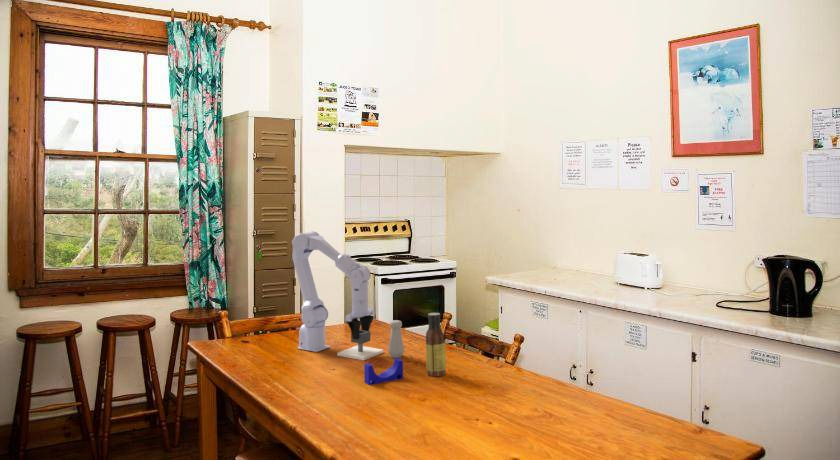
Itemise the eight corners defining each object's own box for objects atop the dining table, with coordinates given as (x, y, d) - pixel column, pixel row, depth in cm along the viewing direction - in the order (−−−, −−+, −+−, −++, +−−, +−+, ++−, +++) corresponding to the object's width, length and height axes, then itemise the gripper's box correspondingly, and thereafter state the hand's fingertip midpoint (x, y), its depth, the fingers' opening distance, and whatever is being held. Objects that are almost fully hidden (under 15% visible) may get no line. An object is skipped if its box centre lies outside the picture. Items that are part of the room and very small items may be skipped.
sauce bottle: (448, 372, 187) (448, 312, 186) (442, 378, 181) (442, 316, 180) (429, 370, 189) (429, 311, 188) (423, 376, 183) (422, 315, 182)
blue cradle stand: (396, 375, 185) (396, 357, 184) (402, 379, 181) (402, 360, 180) (362, 381, 179) (362, 362, 178) (368, 385, 175) (368, 366, 174)
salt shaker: (405, 354, 207) (405, 319, 207) (403, 359, 202) (403, 322, 201) (389, 354, 208) (389, 318, 207) (386, 358, 202) (386, 322, 201)
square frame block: (351, 342, 207) (351, 332, 207) (359, 339, 211) (359, 329, 211) (362, 343, 204) (362, 334, 204) (370, 340, 209) (370, 331, 208)
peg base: (337, 355, 206) (337, 339, 206) (357, 347, 216) (357, 332, 216) (363, 360, 200) (363, 343, 200) (383, 352, 210) (383, 336, 210)
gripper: (356, 304, 199) (357, 343, 200) (380, 298, 211) (380, 334, 212) (340, 302, 202) (341, 340, 203) (365, 296, 215) (365, 331, 216)
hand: (360, 337), depth 208 cm, fingers closed on square frame block, 5 cm apart
